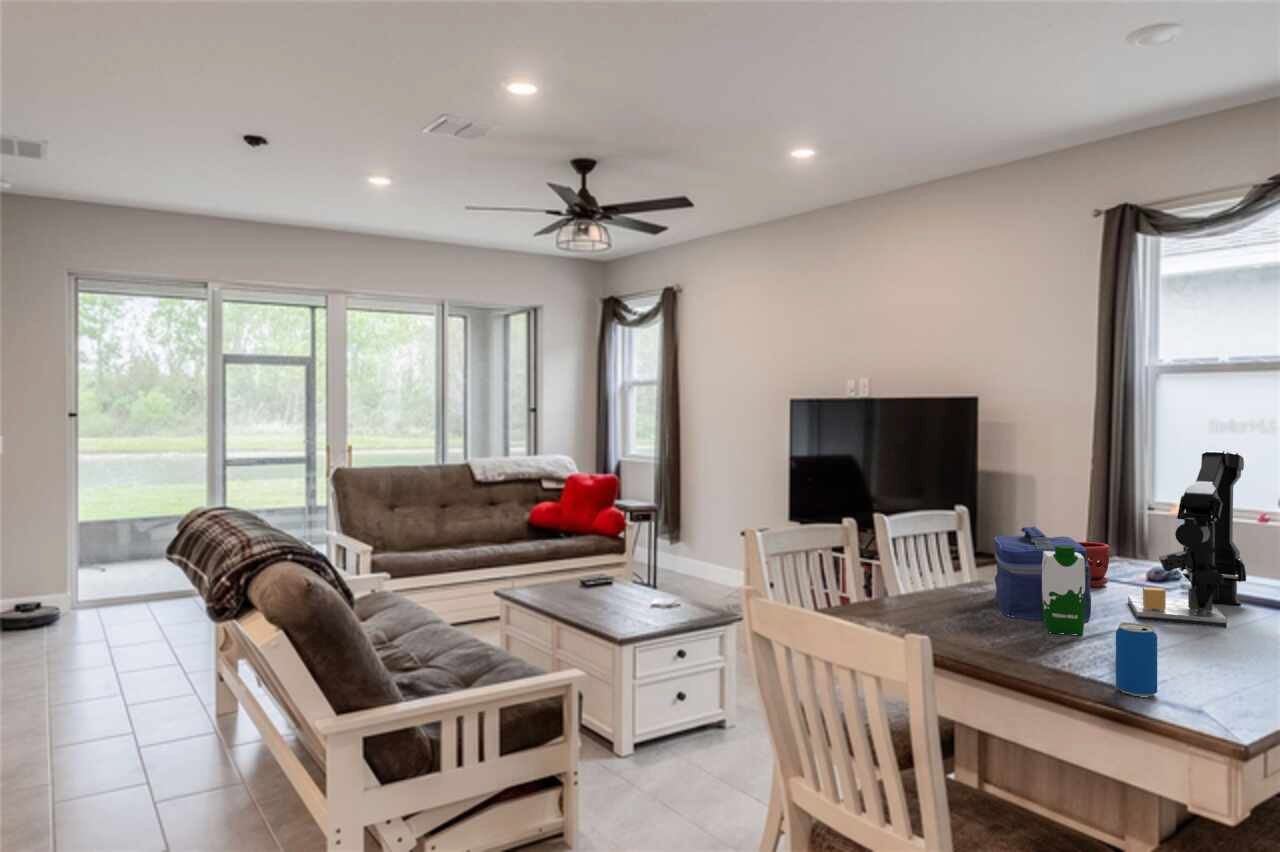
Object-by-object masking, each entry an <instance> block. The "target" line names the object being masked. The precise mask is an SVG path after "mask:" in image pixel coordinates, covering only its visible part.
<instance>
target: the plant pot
mask: <svg viewBox="0 0 1280 852" xmlns="http://www.w3.org/2000/svg"><path fill="white" fill-rule="evenodd" d="M1076 542H1077V543H1079V544H1080V545H1081V546H1083V547H1084V548H1085V549H1086V553H1087V561H1088V564H1089V566H1090V576H1091V580H1090V588H1094V587H1095V588H1096V587H1103V586H1104V585H1106V584H1107V583H1108V581H1109V579H1108V578H1107V577H1106V574H1107V571H1108V569H1109V566H1110V565H1109V564H1110V546H1109V544H1106V543H1101V542H1092V541H1091V542H1089V541H1076Z"/></svg>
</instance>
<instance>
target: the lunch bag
mask: <svg viewBox="0 0 1280 852" xmlns="http://www.w3.org/2000/svg"><path fill="white" fill-rule="evenodd" d="M1020 531H1021V532H1022V533H1024V535H1016V536H1014V535H1011V536H1010V535H1008V536H1007V535H997V536H995V537H994V549H995V552H994V557H995V558H994V559H996V562H997V563H996V572H997V573H996V575H995V577H994V583H995V589H996V592H995V596H994V598H995V601H997V604H998V605H999V609H1000V612H1001V613H1002V614H1003V615H1005V614H1006V615H1005V616H1007V615H1009V616H1008V617H1010V616H1014V617H1013V618H1016V617H1019V619H1025V618H1028V620H1042V621H1044V616H1043V610H1042V560H1043V551H1051V552H1055V546H1058V545H1064V546H1072V547H1074V548H1075V552H1076V553H1079V554H1081V555H1082V556H1083V557H1084V561H1085V619H1084V622H1088V621H1090V619H1091V614H1092V613H1091V612H1092V596H1091V587H1090V580H1091V576H1090V566H1089V564H1088V561H1087V553H1086V549H1085V548H1084V547H1083V546H1081V545H1080V544H1079V543H1077V542H1078V541H1076V540H1075V539H1073V538H1072V537H1069V536H1054V537H1048V536H1047V537H1046V535H1045V534H1044V532H1042V531H1041V530H1040V529H1038V528H1037V527H1036V526H1031V527H1030V526H1028V527H1027V526H1024V527H1022V528H1021V530H1020Z"/></svg>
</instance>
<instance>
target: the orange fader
mask: <svg viewBox="0 0 1280 852" xmlns="http://www.w3.org/2000/svg"><path fill="white" fill-rule="evenodd" d="M1142 596H1143V606H1144V608H1151V611H1157V609H1164V610H1166V598H1167V597H1166V589H1165V588H1161V587H1146V586H1143V587H1142Z"/></svg>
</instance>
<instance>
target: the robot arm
mask: <svg viewBox="0 0 1280 852" xmlns="http://www.w3.org/2000/svg"><path fill="white" fill-rule="evenodd" d="M1200 463H1201V465H1200V469H1199V472H1198V475H1197V478H1196V480H1195V483H1194V484H1191V485H1189V486H1188V487H1186V489H1185V491H1184V493H1183V495H1181V497H1180V501H1179V506H1178V511H1177V516H1176V519H1177V520H1184V523H1183V524H1180V525H1179V526H1178V527H1177V528H1176V530H1175V533H1174V535H1175V539H1176V541H1177V542H1178V543H1179V544H1180V545H1182V547H1183V549H1182V550H1181V551H1176V552H1172V553H1168V554H1164V555H1160V556H1158V559H1159V563H1160V564H1161V566H1162V569H1163V570H1164V571H1165V572H1173V570H1176V569H1178V570H1179V571H1181V572H1184V570H1185V571H1186V573H1185V572H1184V573H1182V575H1183V576H1184V578H1186V579H1187V581H1189V582H1190V586H1191V588H1193V589H1195V591H1196V596H1197V601H1198V605H1199V607H1200V608H1204V607H1205V606H1206V604H1207V602H1208V600H1209V598H1210V597H1211V595H1212V604H1223V605H1235V606H1237V605H1238V606H1241V605H1242V602H1240V601H1239V600H1238V582H1239V583H1241V582H1242V583H1243V582H1247V570H1246V565H1245V564H1244V562H1243V559H1242V558H1241V555H1240V554H1241V552H1240V550H1239V549H1238V547H1237V546H1236V544H1235V543H1234V542H1233V538H1234V537H1233V534H1234V533H1233V532H1234V528H1233V527H1234V525H1233V524H1234V521H1233V520H1234V486H1235V485H1236V483H1237V482H1238V481H1239V479H1240V478H1241V477H1242V471H1244V469H1245V468H1244V467H1245V466H1244V465H1245V460H1244V457H1243V456H1242V455H1240V454H1239V453H1238V452H1229V451H1225V450H1206V451H1203V453H1202V454H1201V462H1200Z"/></svg>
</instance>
